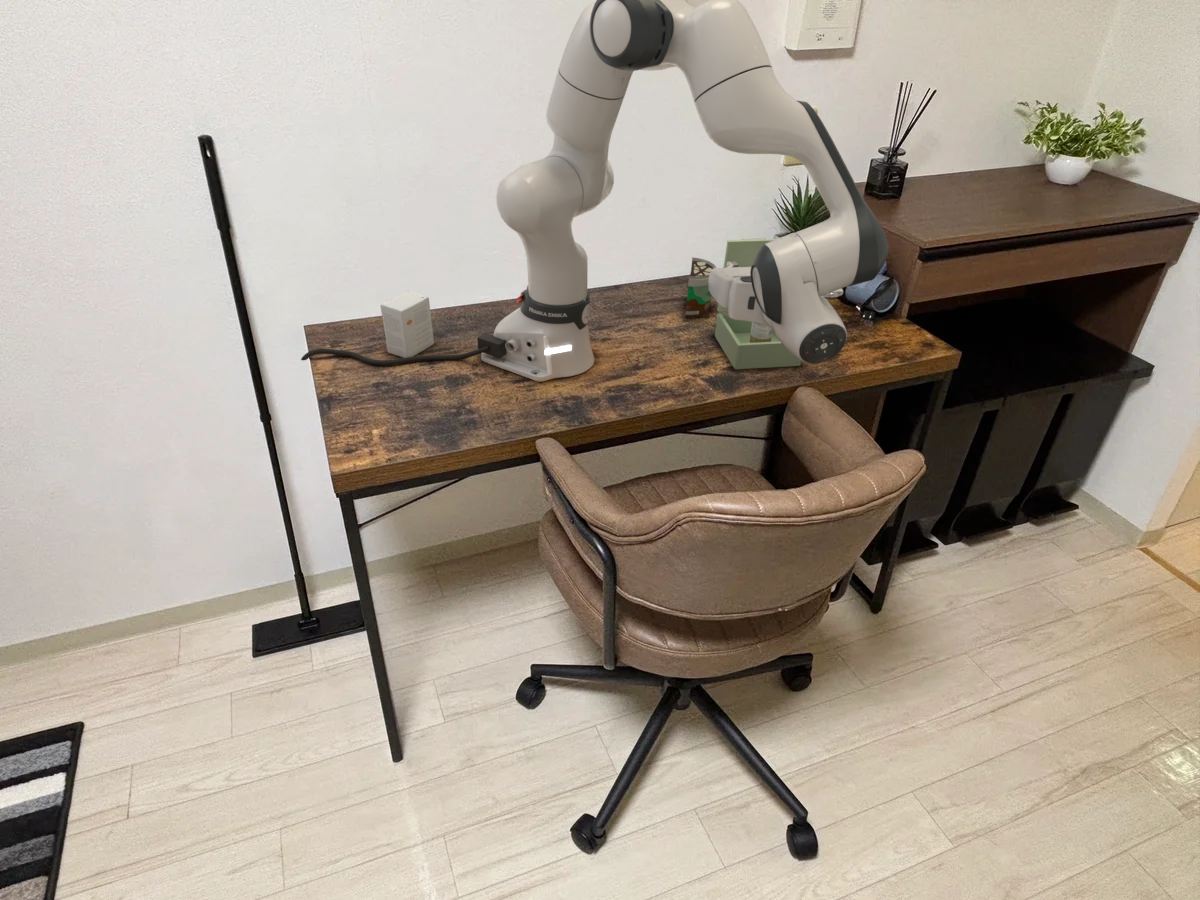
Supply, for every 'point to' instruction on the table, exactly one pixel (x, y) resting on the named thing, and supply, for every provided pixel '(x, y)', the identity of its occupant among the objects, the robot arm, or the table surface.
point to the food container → (698, 288)
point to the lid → (742, 254)
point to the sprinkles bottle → (760, 333)
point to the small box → (407, 324)
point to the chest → (750, 346)
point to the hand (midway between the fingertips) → (757, 264)
